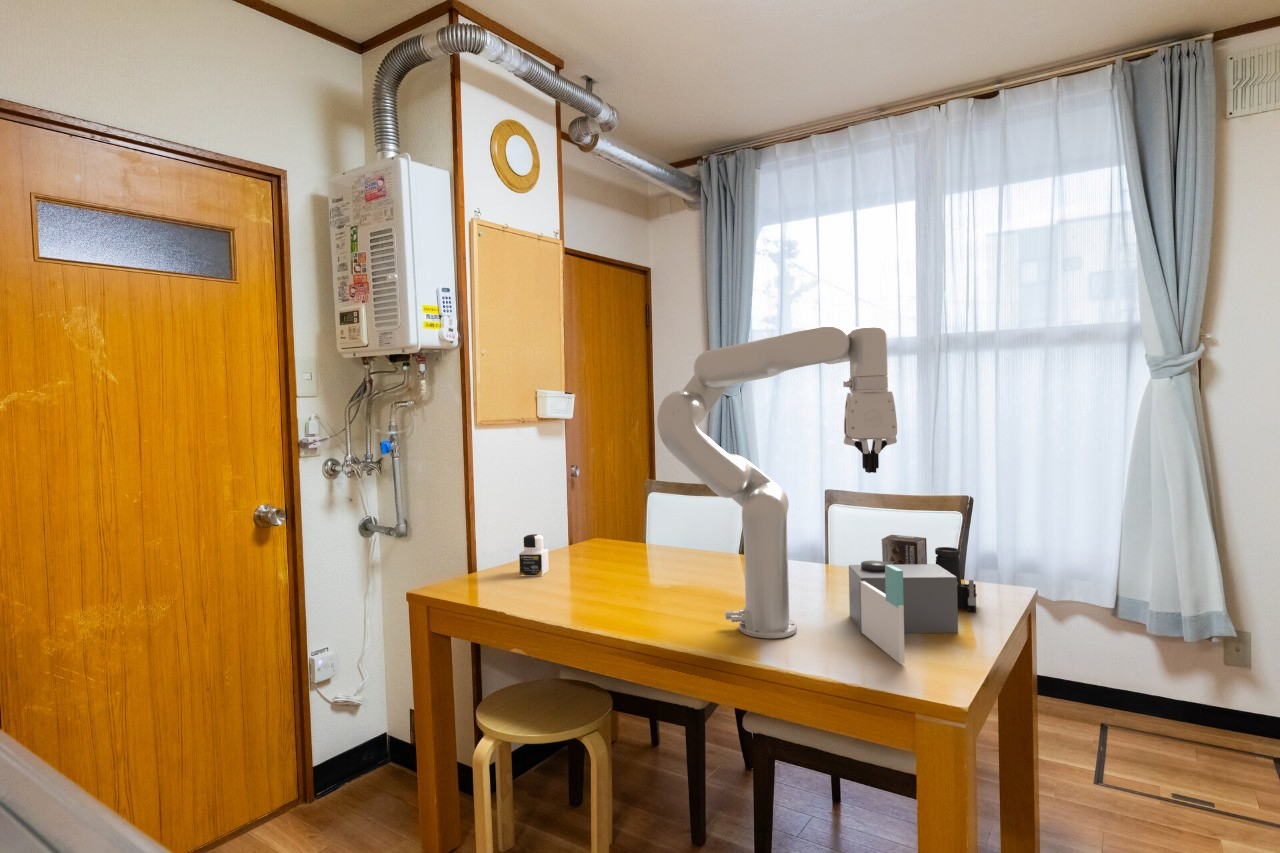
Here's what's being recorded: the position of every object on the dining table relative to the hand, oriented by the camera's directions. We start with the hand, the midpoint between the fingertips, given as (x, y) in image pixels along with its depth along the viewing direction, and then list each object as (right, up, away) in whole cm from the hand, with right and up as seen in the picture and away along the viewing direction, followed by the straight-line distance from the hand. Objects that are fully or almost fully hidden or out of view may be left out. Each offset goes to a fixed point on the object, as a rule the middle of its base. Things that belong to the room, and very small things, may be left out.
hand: (870, 472), depth 142 cm
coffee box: (+17, -34, +25) cm, 45 cm away
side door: (0, -35, -6) cm, 35 cm away
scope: (+27, -34, +20) cm, 48 cm away
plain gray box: (+10, -35, +8) cm, 37 cm away
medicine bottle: (-82, -36, +65) cm, 111 cm away
